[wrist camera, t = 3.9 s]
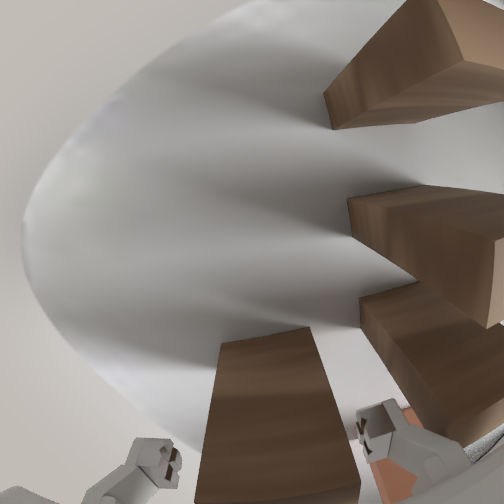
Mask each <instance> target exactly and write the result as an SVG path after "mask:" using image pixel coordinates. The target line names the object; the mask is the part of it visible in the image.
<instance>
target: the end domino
mask: <svg viewBox="0 0 504 504" xmlns="http://www.w3.org/2000/svg"><path fill="white" fill-rule="evenodd" d="M402 412H403V414H404V416H405V418H406V419H407V421H408V423H409V424H410V425H412V424H415V425H417V426H419V427H422V428H424V427H423V426H422V424H421V422H420V421H419V419H418V417H417V416H416V414H415V412H414V411H413V409H412V407H411V408H408V409H406V410H403V411H402ZM369 464H370V467H371V469H372V472H373V475H374V478H375V481H376V484H377V487H378V490H379V493H380V496H381V499H382V502H383V504H394V503H396V502H399V501H401V500H404V499H406V498H409V497H411V496H413V494H412V492H411V490H412V488H413V486H414V484H415V482H416V480H417V478H418V477H417V476H415V475H414V474H412V473H410V472H409V471H407V470H406V469H404V468H402V467H401V466H399V465H398V464H396V463H395V462H393V461H392V460H390V459H389V458H388V457H387V458H384V459H381V460H378V461H375V462H371V463H369Z"/></svg>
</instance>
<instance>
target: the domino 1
mask: <svg viewBox="0 0 504 504" xmlns="http://www.w3.org/2000/svg"><path fill="white" fill-rule="evenodd" d="M360 487H361V479H360V476H359V472H358V469H357V466H356V463H355V460H354V456H353V453H352V450H351V447H350V444H349V441H348V438H347V435H346V432H345V428H344V425H343V422H342V419H341V416H340V413H339V410H338V407H337V404H336V401H335V399H334V396H333V393H332V390H331V387H330V384H329V381H328V378H327V375H326V372H325V369H324V367H323V364H322V361H321V358H320V355H319V352H318V350H317V347H316V344H315V341H314V338H313V336H312V333H311V330H310V327H306V328H302V329H297V330H292V331H288V332H283V333H278V334H273V335H268V336H262V337H257V338H252V339H246V340H240V341H234V342H228V343H222V344H221V348H220V354H219V359H218V365H217V370H216V376H215V381H214V387H213V393H212V398H211V404H210V410H209V415H208V421H207V427H206V433H205V438H204V444H203V450H202V456H201V462H200V468H199V474H198V480H197V486H196V493H195V499H194V503H195V504H358V499H359V493H360Z"/></svg>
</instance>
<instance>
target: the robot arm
mask: <svg viewBox="0 0 504 504" xmlns="http://www.w3.org/2000/svg"><path fill="white" fill-rule="evenodd" d="M356 417H357V420H358V421H357V422H356V432H357V436H358V440H359V443H360V444H362V445H363V454H364V456H365V459H366V462H367V464H368V463H371V462H375V461H378V460H381V459H384V458H387V457H388V458H389V459H390V460H392V461H393V462H395V463H396V464H398V465H399V466H401V467H402V468H404V469H406V470H407V471H409V472H410V473H412V474H414V475H415V476H417V477H418V478H417V480H416V482H415V484H414V486H413V488H412V490H411V492H412V494H413V496H411V497H409V498H406V499H404V500H401V501H399V502H396V503H394V504H504V436H503V437H502V438H501V439H500V440H499V441H498V443H497V444H496V445H495V446H494V447H493V448H492V449H491V450H490V451H489V452H488V453H487V454H486V455H484V456H483V457H482V458H481V459H480V460H479V461H477V462H476V463H474V464H472V462H471V461H470V459H469V457H468V456H467V454H466V453H465V451H464V450H463V448H462V446H461V445H460V443H459V442H456V441H454V440H452V441H451V440H450V439H448V438H446V437H443V436H441V435H438V434H436V433H433V432H431V431H429V430H426V429H424V428H422V427H419V426H417V425H415V424H412V425H410V424H409V423H408V421H407V419H406V418H405V416H404V414H403V412H402V411H401V409H400V407H399V406H398V404H397V402H396V400H395V399H393V398H392V399H389V400H386V401H383V402H381V403H377V404H374V405H371V406H368V407H365V408H362V409H359V410H357V411H356ZM181 467H182V457H181V455H180V452H179V451H178V450H177V449H176V448H174V447H173V442H172V441H171V439H158V438H136V439H135V440H134V441H133V444H132V447H131V449H130V452H129V454H128V457H127V460H126V463H125V465H121V466H119V467H118V468H117V469H116V470H114V471H113V472H111V473H110V474H109V475H108V476H106V477H105V478H104V479H102V480H101V481H99V482H98V483H96V484H95V485H94V486H92V487H91V488H90V489H88V490H87V491H86V494H85V496H84V499H83V501H82V503H81V504H146V503H147V502H148V501H149V499H150V498H151V497H152V496H153V495H154V494H155V493H156V492H157V491H158V489H159V488H166V489H177V487H178V482H179V476H178V474H177V472H178V471H179V470H180V469H181ZM0 504H59V503H56V502H54V501H51V500H49V499H46V498H44V497H41V496H39V495H37V494H35V493H33V492H31V491H29V490H27V489H25V488H23V487H20V486H14V487H11V488H9V489H7V490H5V491H3V492H1V493H0Z"/></svg>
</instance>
